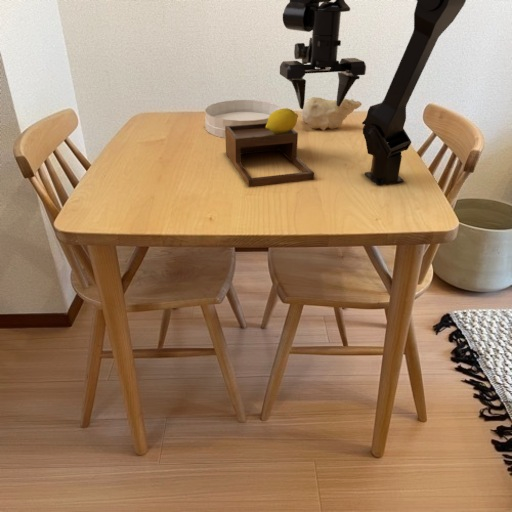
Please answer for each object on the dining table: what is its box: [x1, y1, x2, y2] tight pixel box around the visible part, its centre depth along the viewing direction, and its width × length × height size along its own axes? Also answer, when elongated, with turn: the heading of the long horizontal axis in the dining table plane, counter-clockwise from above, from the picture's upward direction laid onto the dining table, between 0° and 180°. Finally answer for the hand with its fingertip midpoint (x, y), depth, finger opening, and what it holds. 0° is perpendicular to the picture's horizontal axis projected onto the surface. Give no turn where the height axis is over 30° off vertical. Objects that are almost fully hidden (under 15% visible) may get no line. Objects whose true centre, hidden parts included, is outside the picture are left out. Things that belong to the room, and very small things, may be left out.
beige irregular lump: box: [300, 96, 363, 131], centre depth 136 cm, size 15×7×15 cm
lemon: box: [266, 107, 299, 134], centre depth 112 cm, size 6×6×8 cm
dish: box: [204, 99, 282, 139], centre depth 137 cm, size 22×22×5 cm
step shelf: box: [225, 123, 315, 187], centre depth 111 cm, size 21×15×7 cm
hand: (320, 107), depth 111 cm, fingers open, 9 cm apart
